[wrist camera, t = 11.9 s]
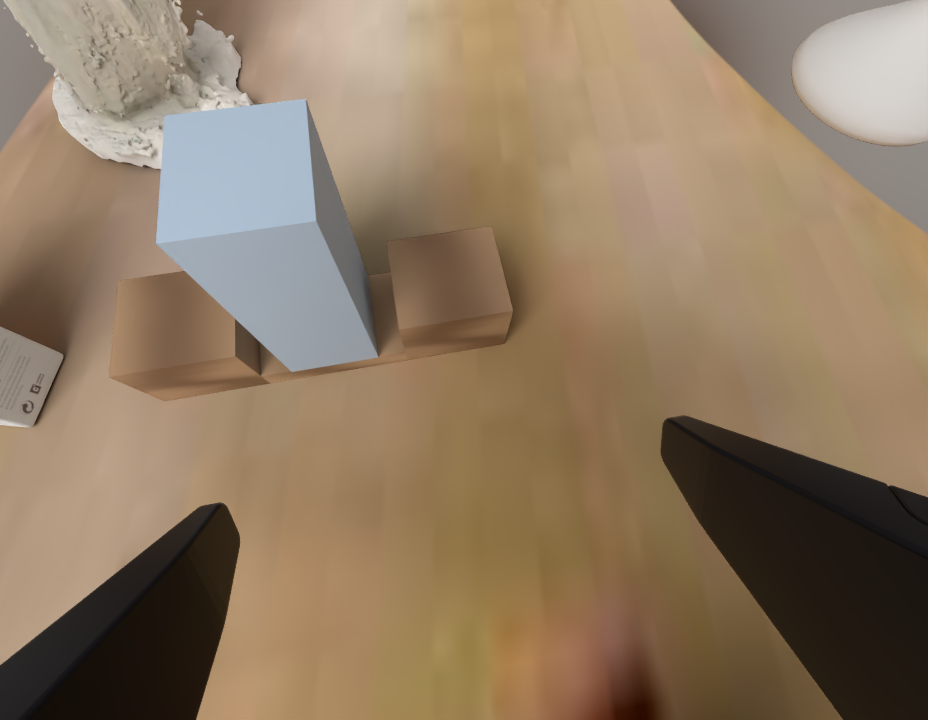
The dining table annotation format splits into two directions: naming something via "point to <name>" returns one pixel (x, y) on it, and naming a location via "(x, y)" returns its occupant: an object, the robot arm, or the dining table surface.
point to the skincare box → (24, 378)
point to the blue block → (266, 230)
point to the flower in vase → (869, 74)
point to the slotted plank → (250, 364)
